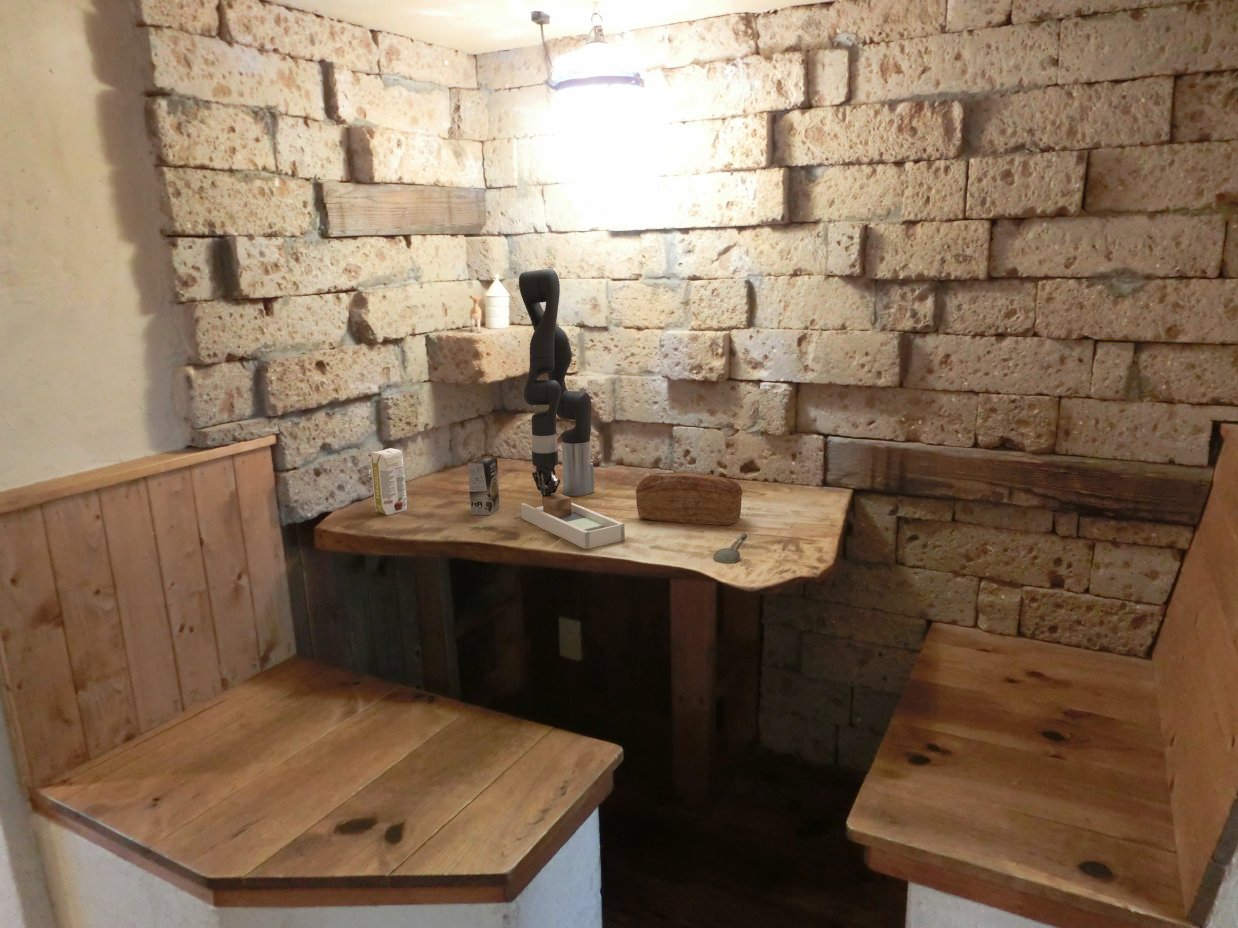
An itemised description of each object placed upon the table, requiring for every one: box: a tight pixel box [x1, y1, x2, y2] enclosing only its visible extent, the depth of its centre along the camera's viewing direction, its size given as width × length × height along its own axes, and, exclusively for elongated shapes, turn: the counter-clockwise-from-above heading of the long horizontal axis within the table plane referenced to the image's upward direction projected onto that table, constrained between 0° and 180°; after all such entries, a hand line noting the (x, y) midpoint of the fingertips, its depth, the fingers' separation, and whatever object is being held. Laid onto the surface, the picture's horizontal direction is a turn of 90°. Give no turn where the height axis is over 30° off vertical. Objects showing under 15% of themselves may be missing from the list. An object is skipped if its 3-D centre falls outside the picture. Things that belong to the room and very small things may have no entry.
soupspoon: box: [712, 532, 748, 565], centre depth 219 cm, size 22×3×7 cm
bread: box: [635, 471, 743, 526], centre depth 245 cm, size 12×31×14 cm, turn 72°
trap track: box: [520, 501, 626, 550], centre depth 239 cm, size 12×35×4 cm, turn 35°
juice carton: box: [370, 447, 408, 516], centre depth 258 cm, size 8×9×19 cm
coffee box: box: [467, 456, 501, 516], centre depth 257 cm, size 9×6×16 cm
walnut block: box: [542, 493, 572, 518], centre depth 244 cm, size 6×6×5 cm
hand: (547, 506), depth 249 cm, fingers closed
